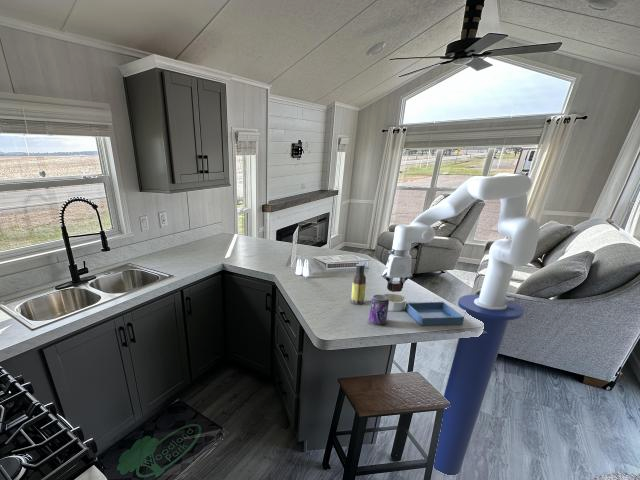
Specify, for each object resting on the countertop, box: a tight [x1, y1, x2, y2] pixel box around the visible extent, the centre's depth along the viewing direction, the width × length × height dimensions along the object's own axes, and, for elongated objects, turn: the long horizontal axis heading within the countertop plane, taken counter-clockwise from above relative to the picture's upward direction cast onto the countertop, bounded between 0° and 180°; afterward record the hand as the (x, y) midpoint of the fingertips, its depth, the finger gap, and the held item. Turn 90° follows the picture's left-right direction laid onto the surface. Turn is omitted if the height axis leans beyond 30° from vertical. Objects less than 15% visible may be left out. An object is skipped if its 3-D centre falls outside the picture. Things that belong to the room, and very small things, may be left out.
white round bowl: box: [382, 293, 407, 312], centre depth 158 cm, size 11×11×4 cm
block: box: [391, 280, 402, 293], centre depth 155 cm, size 4×4×4 cm
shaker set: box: [295, 258, 314, 279], centre depth 202 cm, size 12×4×11 cm, turn 32°
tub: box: [404, 301, 465, 326], centre depth 147 cm, size 17×16×4 cm
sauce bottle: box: [350, 262, 367, 305], centre depth 161 cm, size 6×6×20 cm
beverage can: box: [368, 294, 389, 326], centre depth 142 cm, size 7×7×12 cm
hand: (394, 289), depth 155 cm, fingers closed on block, 4 cm apart
